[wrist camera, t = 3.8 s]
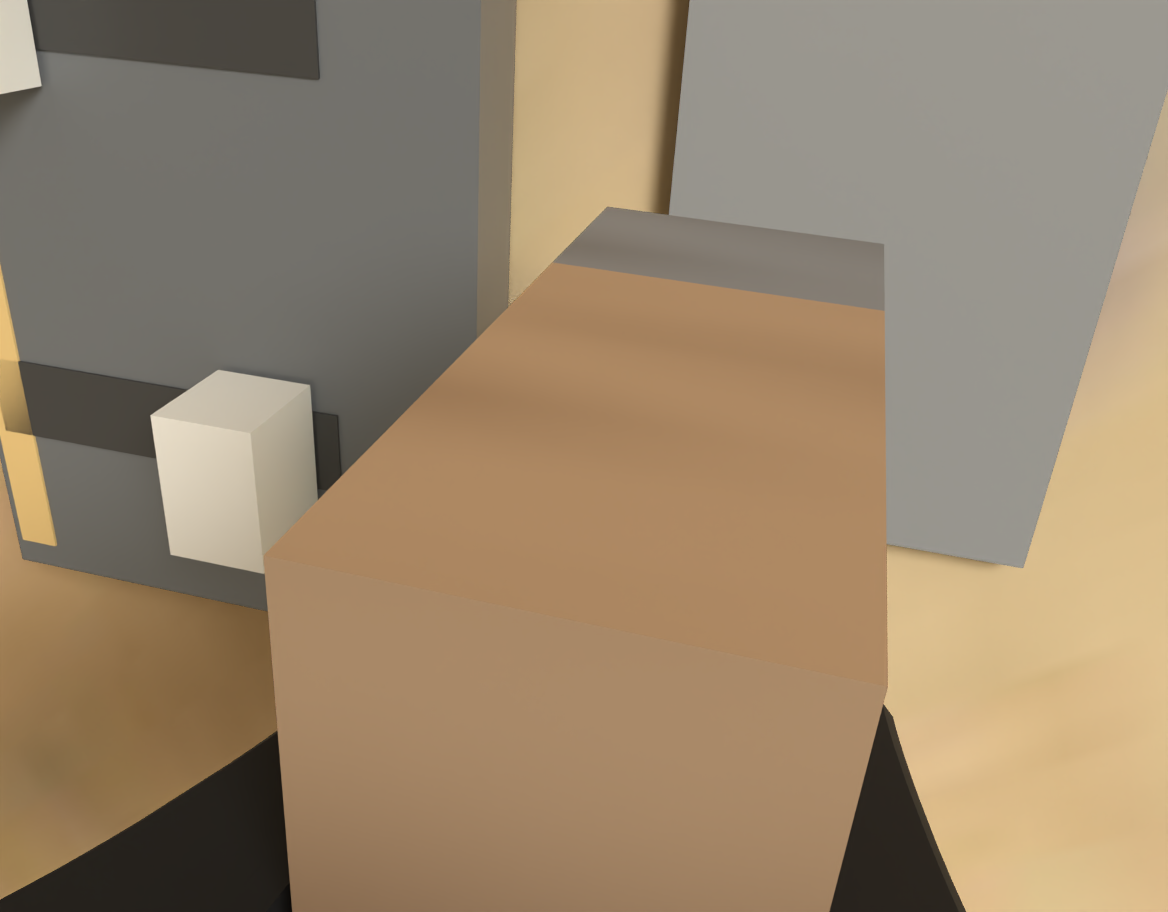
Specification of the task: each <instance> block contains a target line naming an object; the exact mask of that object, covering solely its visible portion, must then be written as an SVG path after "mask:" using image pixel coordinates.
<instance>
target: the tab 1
mask: <svg viewBox="0 0 1168 912" xmlns="http://www.w3.org/2000/svg"><path fill="white" fill-rule="evenodd" d="M40 86H42V85H41V79H40V73H39V67H38V62H37V56H36V50H35V44H34V38H33V32H32V26H31V21H30V15H29V9H28V3H27V0H0V94H4V93H9V92H14V91H19V90H24V89H29V88H34V87H40Z"/></svg>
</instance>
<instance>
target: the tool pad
mask: <svg viewBox="0 0 1168 912" xmlns="http://www.w3.org/2000/svg"><path fill="white" fill-rule="evenodd" d="M1167 90H1168V0H690V2H689V13H688V23H687V33H686V43H685V54H684V64H683V74H682V85H681V95H680V105H679V115H678V126H677V136H676V146H675V156H674V167H673V177H672V187H671V198H670V208H669V215H672V216H680V217H687V218H695V219H702V220H710V221H717V222H724V223H732V224H739V225H747V226H754V227H762V228H769V229H776V230H784V231H791V232H799V233H806V234H814V235H821V236H829V237H836V238H843V239H851V240H858V241H866V242H873V243H881V244H884V292H885V415H886V538H887V544H889V545H895V546H900V547H906V548H912V549H917V550H923V551H928V552H934V553H940V554H945V555H951V556H956V557H962V558H968V559H973V560H979V561H985V562H990V563H996V564H1001V565H1007V566H1013V567H1018V568H1023V567H1024V564H1025V561H1026V557H1027V554H1028V551H1029V547H1030V544H1031V541H1032V537H1033V534H1034V531H1035V527H1036V524H1037V521H1038V517H1039V514H1040V511H1041V508H1042V504H1043V501H1044V498H1045V494H1046V491H1047V488H1048V484H1049V481H1050V478H1051V474H1052V471H1053V468H1054V464H1055V461H1056V458H1057V454H1058V451H1059V448H1060V444H1061V441H1062V438H1063V435H1064V431H1065V428H1066V425H1067V421H1068V418H1069V415H1070V411H1071V408H1072V405H1073V401H1074V398H1075V395H1076V391H1077V388H1078V385H1079V381H1080V378H1081V375H1082V372H1083V368H1084V365H1085V362H1086V358H1087V355H1088V352H1089V348H1090V345H1091V342H1092V338H1093V335H1094V332H1095V328H1096V325H1097V322H1098V318H1099V315H1100V312H1101V308H1102V305H1103V302H1104V299H1105V295H1106V292H1107V289H1108V285H1109V282H1110V279H1111V275H1112V272H1113V269H1114V265H1115V262H1116V259H1117V255H1118V252H1119V249H1120V245H1121V242H1122V239H1123V236H1124V232H1125V229H1126V226H1127V222H1128V219H1129V216H1130V212H1131V209H1132V206H1133V202H1134V199H1135V196H1136V192H1137V189H1138V186H1139V182H1140V179H1141V176H1142V172H1143V169H1144V166H1145V163H1146V159H1147V156H1148V153H1149V149H1150V146H1151V143H1152V139H1153V136H1154V133H1155V129H1156V126H1157V123H1158V119H1159V116H1160V113H1161V109H1162V106H1163V103H1164V100H1165V96H1166V93H1167Z"/></svg>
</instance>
